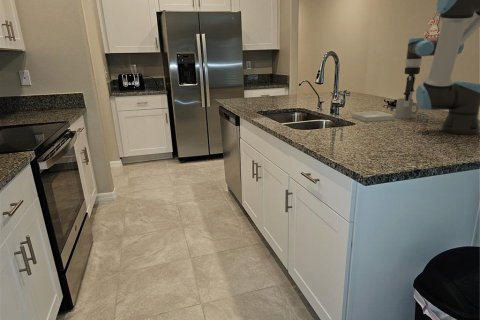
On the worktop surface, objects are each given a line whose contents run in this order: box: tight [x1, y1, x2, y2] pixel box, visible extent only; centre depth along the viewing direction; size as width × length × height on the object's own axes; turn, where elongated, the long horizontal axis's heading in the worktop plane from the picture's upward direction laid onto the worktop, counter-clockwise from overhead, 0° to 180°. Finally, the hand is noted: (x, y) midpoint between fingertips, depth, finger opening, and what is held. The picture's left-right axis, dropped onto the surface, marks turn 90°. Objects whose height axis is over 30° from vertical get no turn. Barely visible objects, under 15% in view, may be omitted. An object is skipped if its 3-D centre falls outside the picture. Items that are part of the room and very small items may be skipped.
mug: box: [394, 97, 420, 120], centre depth 184 cm, size 12×8×11 cm
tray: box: [351, 110, 395, 123], centre depth 186 cm, size 18×16×3 cm
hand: (407, 104), depth 183 cm, fingers open, 13 cm apart
